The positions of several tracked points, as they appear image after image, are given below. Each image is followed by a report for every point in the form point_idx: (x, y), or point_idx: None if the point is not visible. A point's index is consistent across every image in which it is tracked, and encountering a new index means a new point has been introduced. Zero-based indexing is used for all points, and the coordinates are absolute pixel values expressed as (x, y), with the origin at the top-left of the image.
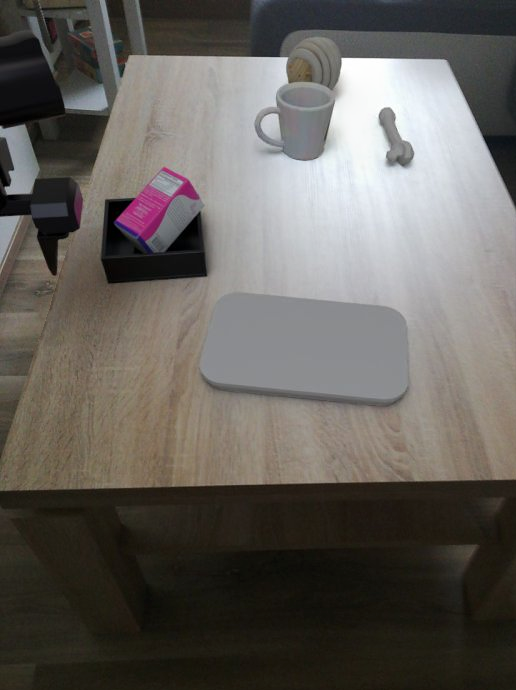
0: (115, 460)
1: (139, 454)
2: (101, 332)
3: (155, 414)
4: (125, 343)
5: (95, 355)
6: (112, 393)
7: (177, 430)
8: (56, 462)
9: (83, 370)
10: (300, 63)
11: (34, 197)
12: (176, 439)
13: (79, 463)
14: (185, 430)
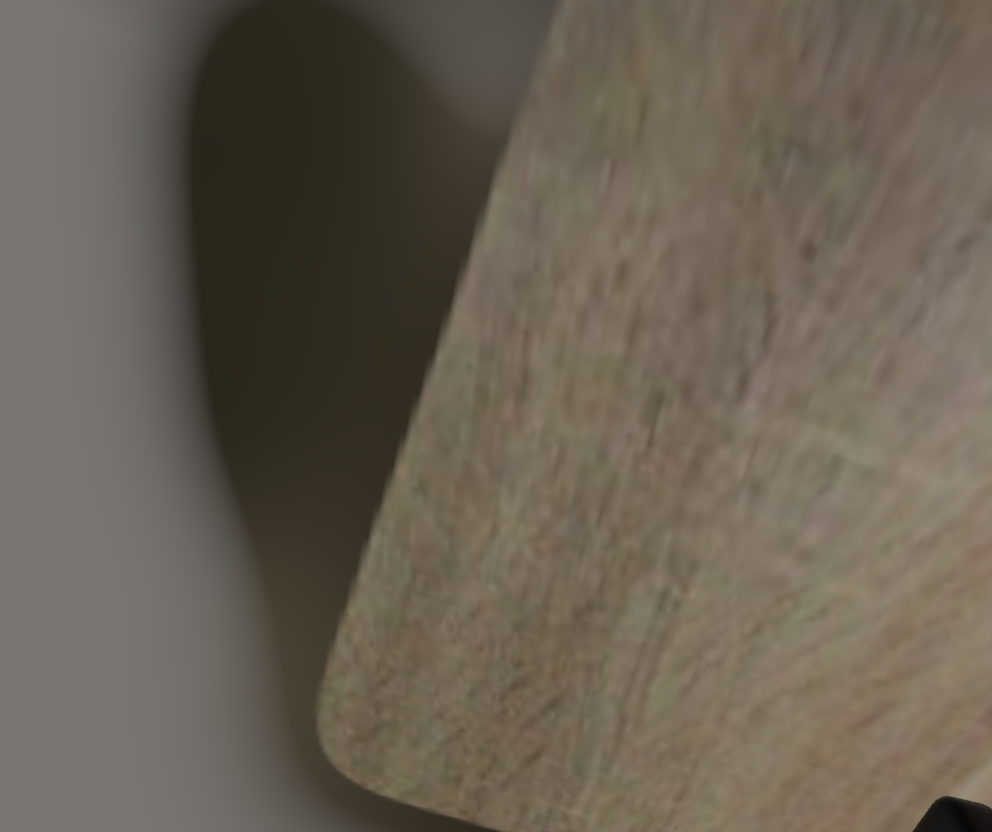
0: (686, 818)
1: (774, 828)
2: (890, 147)
3: (910, 723)
4: (989, 296)
5: (785, 326)
6: (780, 577)
7: None
8: (485, 760)
9: (690, 404)
10: None
11: None
12: None
13: (562, 788)
14: None
